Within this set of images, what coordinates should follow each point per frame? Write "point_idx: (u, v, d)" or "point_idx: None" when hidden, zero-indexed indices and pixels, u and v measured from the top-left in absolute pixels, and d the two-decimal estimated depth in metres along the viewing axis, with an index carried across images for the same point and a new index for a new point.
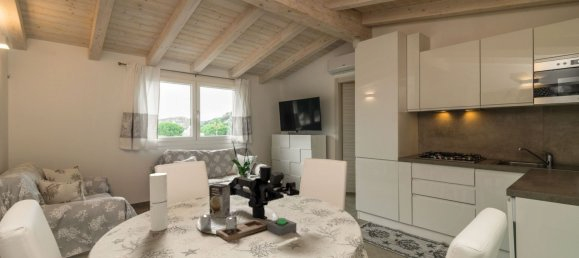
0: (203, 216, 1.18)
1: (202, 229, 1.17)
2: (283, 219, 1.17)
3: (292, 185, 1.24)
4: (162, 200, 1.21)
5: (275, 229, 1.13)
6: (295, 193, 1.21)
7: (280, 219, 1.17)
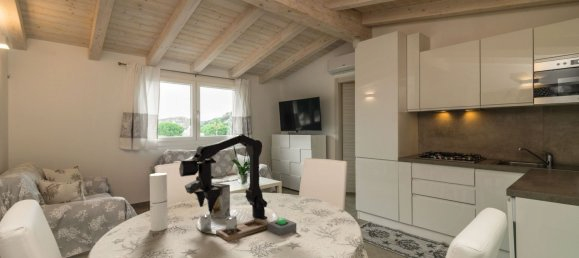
0: (203, 216, 1.18)
1: (202, 229, 1.17)
2: (283, 219, 1.17)
3: None
4: (162, 200, 1.21)
5: (275, 229, 1.13)
6: None
7: (280, 219, 1.17)
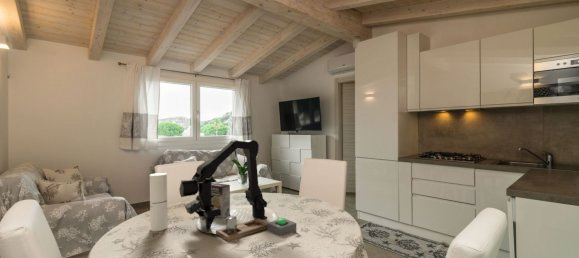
0: None
1: (202, 229, 1.17)
2: (283, 219, 1.17)
3: None
4: (162, 200, 1.21)
5: (275, 229, 1.13)
6: None
7: (280, 219, 1.17)
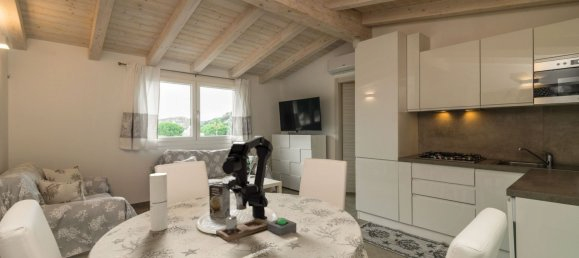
0: (239, 193, 1.19)
1: (238, 205, 1.18)
2: (283, 219, 1.17)
3: (241, 194, 1.16)
4: (162, 200, 1.21)
5: (275, 229, 1.13)
6: None
7: (280, 219, 1.17)
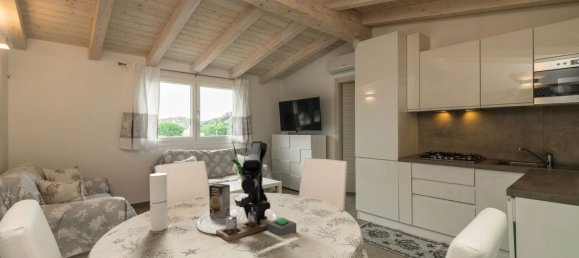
0: (251, 212, 1.19)
1: (250, 225, 1.18)
2: (283, 219, 1.17)
3: (255, 212, 1.15)
4: (162, 200, 1.21)
5: (275, 229, 1.13)
6: None
7: (280, 219, 1.17)
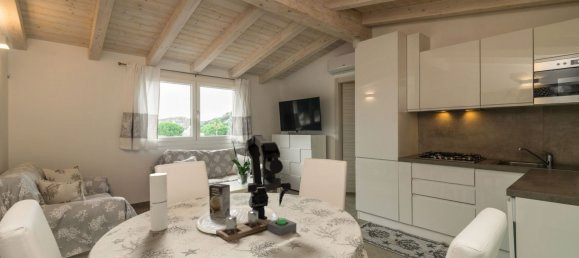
0: (251, 212, 1.19)
1: (250, 225, 1.18)
2: (283, 219, 1.17)
3: (282, 193, 1.17)
4: (162, 200, 1.21)
5: (275, 229, 1.13)
6: (279, 199, 1.19)
7: (280, 219, 1.17)
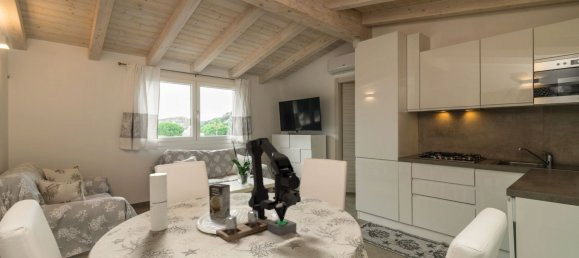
0: (251, 212, 1.19)
1: (250, 225, 1.18)
2: (283, 220, 1.17)
3: (286, 208, 1.16)
4: (162, 200, 1.21)
5: (275, 229, 1.13)
6: None
7: None
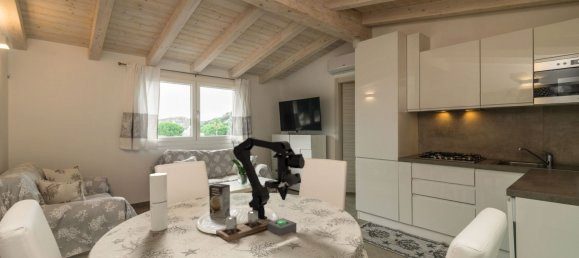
0: (250, 212, 1.19)
1: (250, 225, 1.18)
2: (283, 221, 1.17)
3: (287, 188, 1.27)
4: (162, 200, 1.21)
5: (275, 229, 1.13)
6: None
7: (280, 221, 1.17)
